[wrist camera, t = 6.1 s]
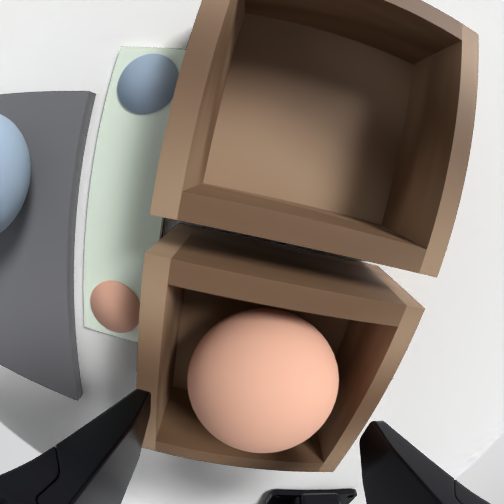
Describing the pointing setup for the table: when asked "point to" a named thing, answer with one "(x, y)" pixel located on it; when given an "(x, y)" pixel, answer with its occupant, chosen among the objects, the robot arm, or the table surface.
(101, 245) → the card
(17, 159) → the ball slate
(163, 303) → the wooden cubby box
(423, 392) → the table surface
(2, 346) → the mat
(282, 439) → the ball terracotta
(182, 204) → the open wooden crate
